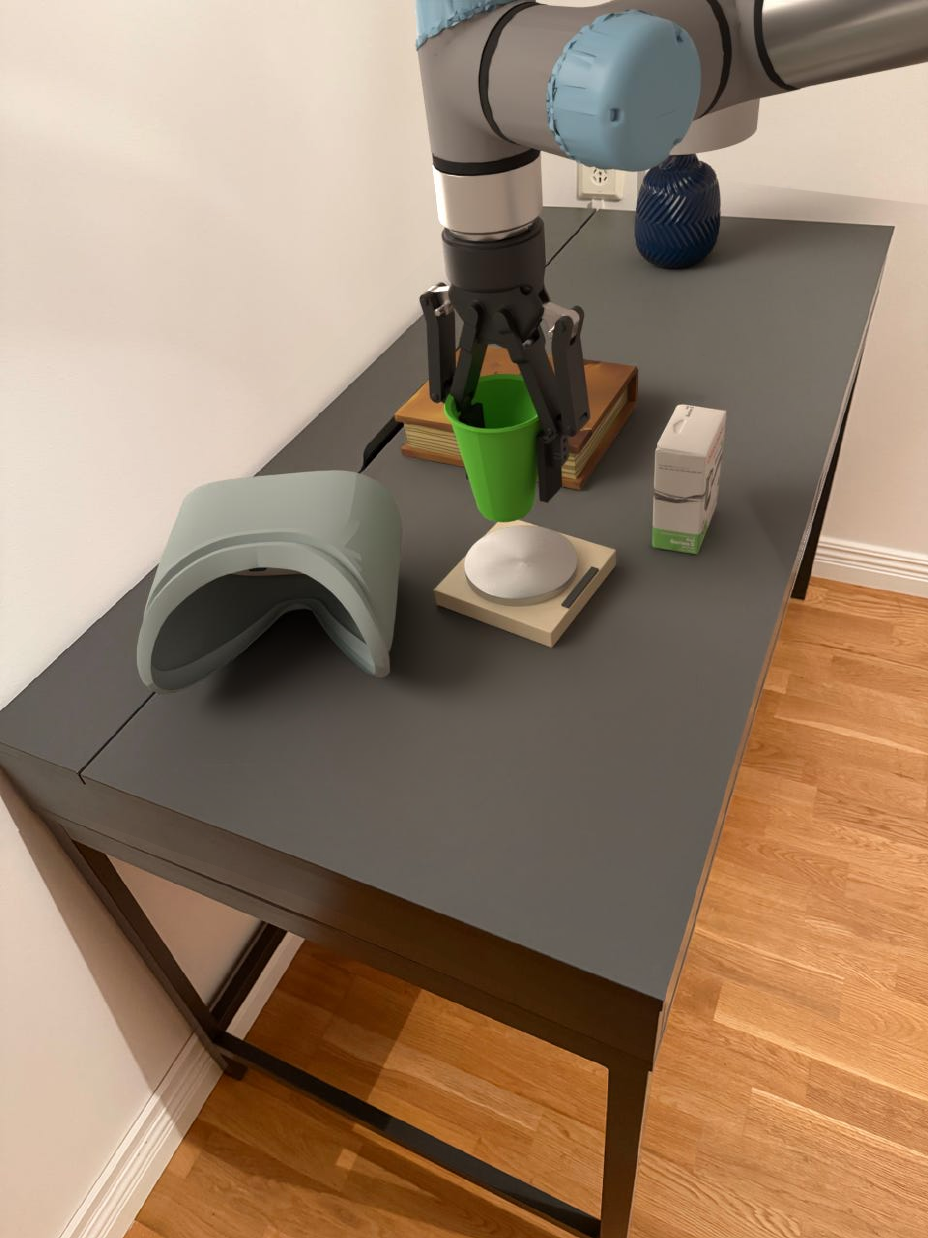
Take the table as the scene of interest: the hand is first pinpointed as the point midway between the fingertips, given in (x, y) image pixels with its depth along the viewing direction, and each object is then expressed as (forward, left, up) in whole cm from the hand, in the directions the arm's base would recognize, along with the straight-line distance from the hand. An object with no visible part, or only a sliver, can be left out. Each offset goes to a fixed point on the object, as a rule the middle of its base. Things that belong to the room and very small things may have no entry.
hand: (513, 482), depth 80 cm
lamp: (+17, -76, -12) cm, 79 cm away
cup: (+1, 0, -3) cm, 3 cm away
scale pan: (-1, 0, -10) cm, 10 cm away
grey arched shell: (+15, +17, -12) cm, 26 cm away
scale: (-1, 0, -12) cm, 12 cm away
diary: (+14, -24, -12) cm, 31 cm away
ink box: (-11, -15, -12) cm, 22 cm away
